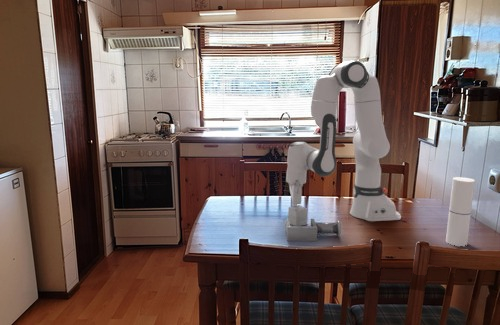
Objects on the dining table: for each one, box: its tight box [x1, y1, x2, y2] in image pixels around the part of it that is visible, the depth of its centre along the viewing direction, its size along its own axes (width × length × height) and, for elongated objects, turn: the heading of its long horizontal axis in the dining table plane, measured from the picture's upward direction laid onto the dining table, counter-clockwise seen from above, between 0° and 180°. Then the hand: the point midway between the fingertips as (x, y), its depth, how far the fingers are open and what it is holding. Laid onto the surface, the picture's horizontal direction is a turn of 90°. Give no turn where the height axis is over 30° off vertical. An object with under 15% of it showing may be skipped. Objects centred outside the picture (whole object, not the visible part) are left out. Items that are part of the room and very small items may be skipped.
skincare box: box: [288, 204, 308, 226], centre depth 159 cm, size 6×6×7 cm
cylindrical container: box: [445, 176, 476, 247], centre depth 138 cm, size 7×7×25 cm
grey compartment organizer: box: [285, 217, 342, 242], centre depth 146 cm, size 21×10×6 cm, turn 88°
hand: (294, 207), depth 166 cm, fingers closed
